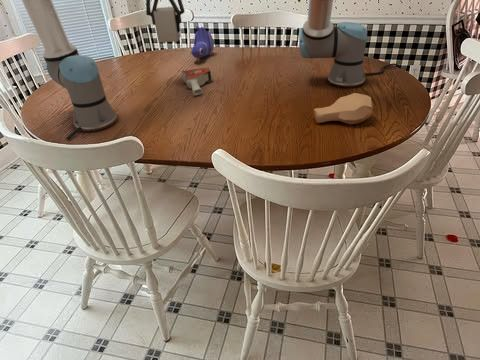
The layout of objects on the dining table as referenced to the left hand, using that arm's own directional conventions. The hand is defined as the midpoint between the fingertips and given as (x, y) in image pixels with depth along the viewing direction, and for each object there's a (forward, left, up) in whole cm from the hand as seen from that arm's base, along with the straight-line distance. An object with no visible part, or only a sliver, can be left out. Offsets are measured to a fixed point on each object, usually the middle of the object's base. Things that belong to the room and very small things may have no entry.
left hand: (168, 32), depth 152 cm
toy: (+32, -9, -21) cm, 40 cm away
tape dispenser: (-8, -10, -21) cm, 25 cm away
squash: (-47, -66, -21) cm, 84 cm away
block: (0, 0, -3) cm, 3 cm away
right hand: (+23, -65, +5) cm, 69 cm away
